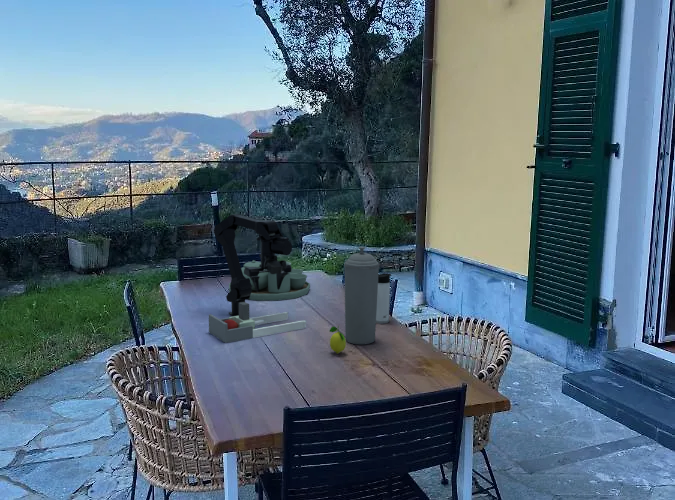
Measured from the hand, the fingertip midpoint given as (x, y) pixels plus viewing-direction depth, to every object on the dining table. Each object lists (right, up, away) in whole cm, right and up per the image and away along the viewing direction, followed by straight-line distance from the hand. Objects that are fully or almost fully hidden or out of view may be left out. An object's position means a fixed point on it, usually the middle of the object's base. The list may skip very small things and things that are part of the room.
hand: (268, 290), depth 241 cm
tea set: (-6, -4, +54) cm, 55 cm away
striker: (-6, -15, -11) cm, 20 cm away
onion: (-10, -12, -13) cm, 20 cm away
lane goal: (-3, -15, -9) cm, 17 cm away
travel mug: (+46, -13, +5) cm, 48 cm away
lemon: (+28, -20, -34) cm, 48 cm away
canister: (+36, -17, -20) cm, 44 cm away
